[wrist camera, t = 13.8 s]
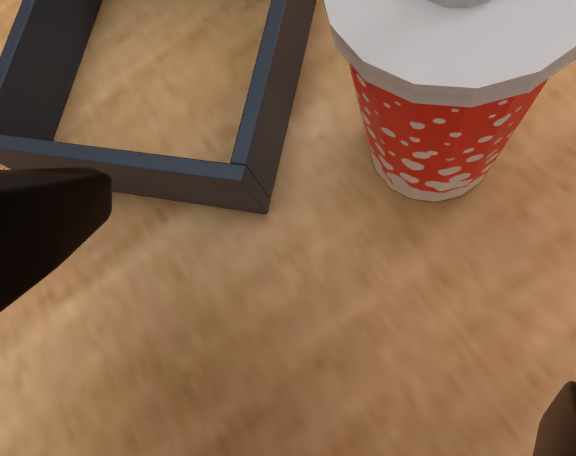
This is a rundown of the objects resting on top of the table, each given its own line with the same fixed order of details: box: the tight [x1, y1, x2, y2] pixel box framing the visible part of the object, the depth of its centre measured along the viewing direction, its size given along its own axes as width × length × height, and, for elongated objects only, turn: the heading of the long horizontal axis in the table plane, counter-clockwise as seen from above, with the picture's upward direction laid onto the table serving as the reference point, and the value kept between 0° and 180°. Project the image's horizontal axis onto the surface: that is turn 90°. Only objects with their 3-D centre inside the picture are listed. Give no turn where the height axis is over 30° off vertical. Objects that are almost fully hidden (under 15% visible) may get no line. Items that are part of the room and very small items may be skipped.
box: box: [0, 0, 316, 214], centre depth 21 cm, size 11×11×4 cm
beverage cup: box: [323, 0, 576, 202], centre depth 13 cm, size 6×6×14 cm
